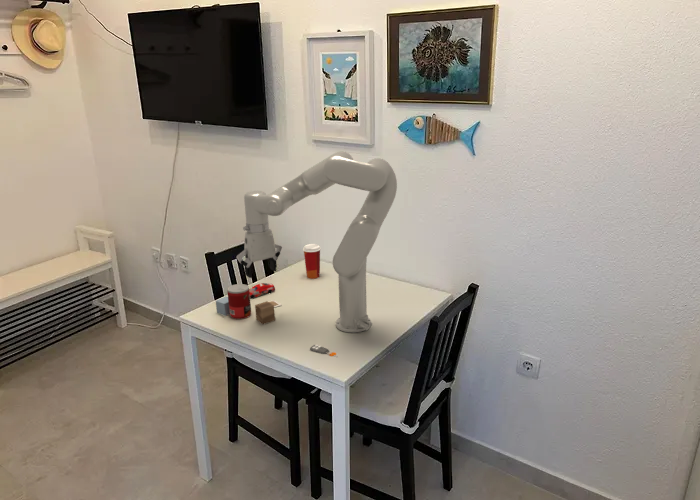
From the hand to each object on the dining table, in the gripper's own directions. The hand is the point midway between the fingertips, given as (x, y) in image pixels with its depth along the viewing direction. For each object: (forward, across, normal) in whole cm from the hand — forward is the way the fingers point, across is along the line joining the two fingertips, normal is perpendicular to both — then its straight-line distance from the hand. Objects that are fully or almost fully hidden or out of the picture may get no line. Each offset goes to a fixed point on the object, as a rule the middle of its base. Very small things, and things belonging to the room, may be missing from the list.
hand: (261, 273), depth 190 cm
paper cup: (+18, +37, +24) cm, 48 cm away
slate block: (+18, -8, +16) cm, 26 cm away
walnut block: (+18, 0, 0) cm, 18 cm away
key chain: (+19, +4, -34) cm, 39 cm away
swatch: (+18, +8, +10) cm, 22 cm away
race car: (+19, +10, +23) cm, 31 cm away
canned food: (+19, -5, +10) cm, 22 cm away
